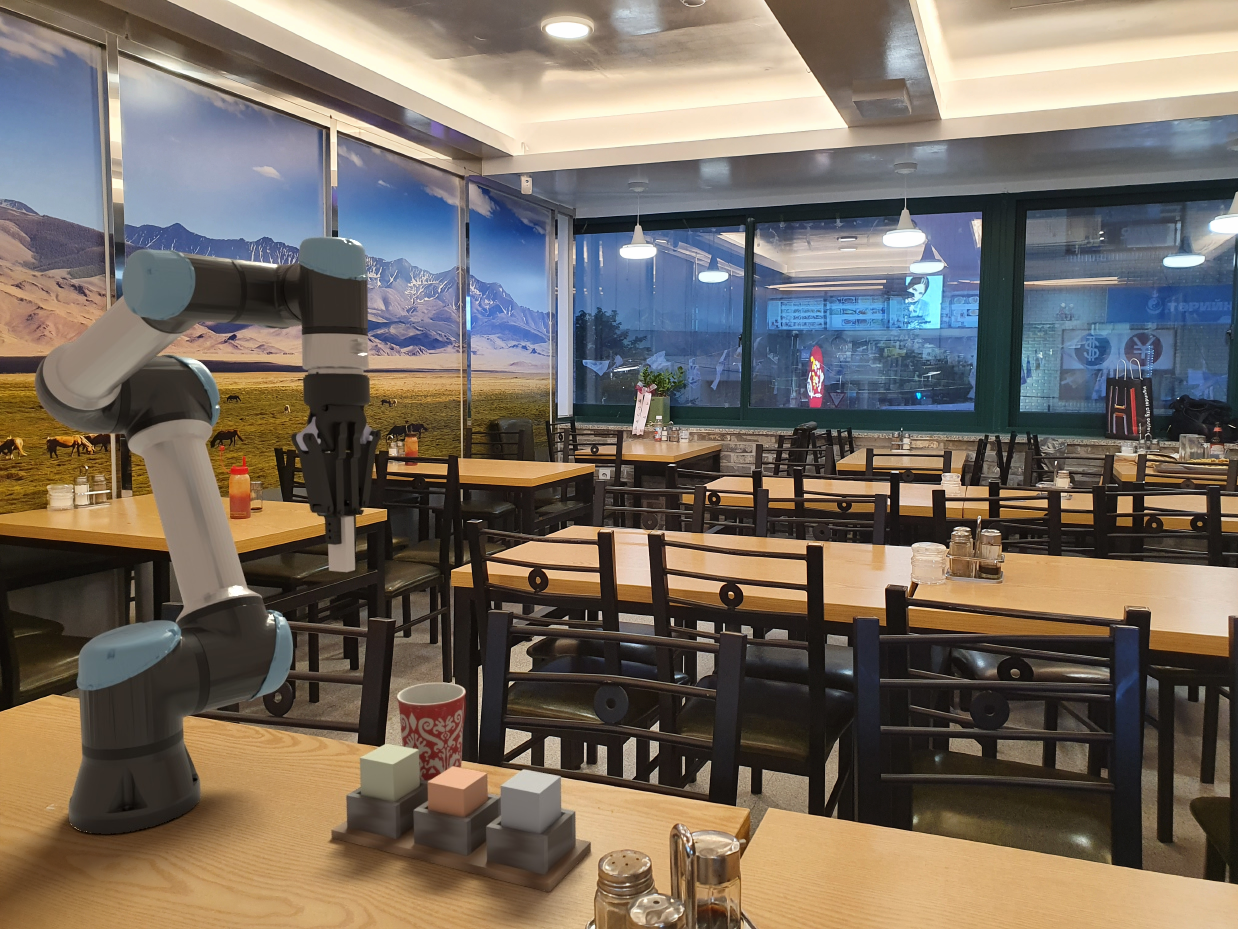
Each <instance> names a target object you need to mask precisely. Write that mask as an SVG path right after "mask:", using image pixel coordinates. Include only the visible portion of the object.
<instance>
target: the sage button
mask: <svg viewBox="0 0 1238 929" xmlns="http://www.w3.org/2000/svg"><path fill="white" fill-rule="evenodd" d="M359 771H360V772H359V773H360V775H359V776H360V778H359V779H360V787H361V795H364V796H369V797H373V798H378V799H382V800H387V801H391V802H396V801H397V800H399V799H400V798H402V797H403V796H405V795H407V794H408V793H410V792H411V791H413V790H415V789H416V788H418V787H419V786H420V776H419V750H418V749H413V748H407V747H402V745H396V744H391V743H385V744H383V745H381V746H379V747H378V748H376V749H374V750H372V751H369V752H368V753H366V754H364V755H362V756H360V757H359Z"/></svg>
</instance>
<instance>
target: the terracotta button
mask: <svg viewBox="0 0 1238 929" xmlns="http://www.w3.org/2000/svg"><path fill="white" fill-rule="evenodd" d="M488 781H489V780H488V772H484V771H478V770H474V769H467V768H463V767H461V768H459V767H454V766H452V767H451V768H449V769H448V770H446V771H444V772H443V773H441V774H440V775H438V776H436V777H435V778H433V779H432V780H430V781H428V810H432V811H437V812H441V813H446V814H450V815H455V816H459V817H464V818H465V817H467V816H468V815H469V814H471V813H472V812H473V811H475V810H476V809H477V808H479V807H480V806H482V805H483V804H484V803H486V802H487V801H488V793H489V792H488V788H489V787H488V784H489V783H488Z"/></svg>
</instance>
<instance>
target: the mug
mask: <svg viewBox="0 0 1238 929" xmlns="http://www.w3.org/2000/svg"><path fill="white" fill-rule="evenodd" d="M466 693H467V692H466V689H465V688H464V687H463V686H461V685H459V684H455V683H451V682H450V683H448V682H426V683H419V684H415V685H412V686H408V687H406V688H404V689H402V690H400V691H399V692H398V693H397V695H396V700H397V703H398V711H399V722H400V733H401V746H402V747H407V748H413V749H418V750H419V776H420V779H421V780H426V781H430V780H432V779H433V778H435V777H436V776H438V775H440V774H441V773H443V772H444V771H446V770H448V769H449V768H451V767H452V766H454V767H459V768H462V761H463V760H462V759H463V757H462V756H463V734H464V733H463V730H464V726H465V719H466V718H465V717H466V709H467V708H466V707H467V702H466Z"/></svg>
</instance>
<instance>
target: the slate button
mask: <svg viewBox="0 0 1238 929" xmlns="http://www.w3.org/2000/svg"><path fill="white" fill-rule="evenodd" d="M499 788H500V796H501V826H504V827H509V828H513V829H518V830H523V831H527V832H532V833H536V834H542V833H544V832H545V831H546V830H547V829H548V828H549V827H550V826H552V825H553V824H554V823H555V822H556V821H557V820H558V819H560V818H561V808H562V776H561V775H555V774H549V773H545V772H544V773H543V772H539V771H533V770H530V769H522V770H521V771H519V772H518V773H516V774H514V775H513V776H512V777H511V778H509V779H508V780H506V781H505V782H503V783H502V784H500V787H499Z"/></svg>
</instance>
